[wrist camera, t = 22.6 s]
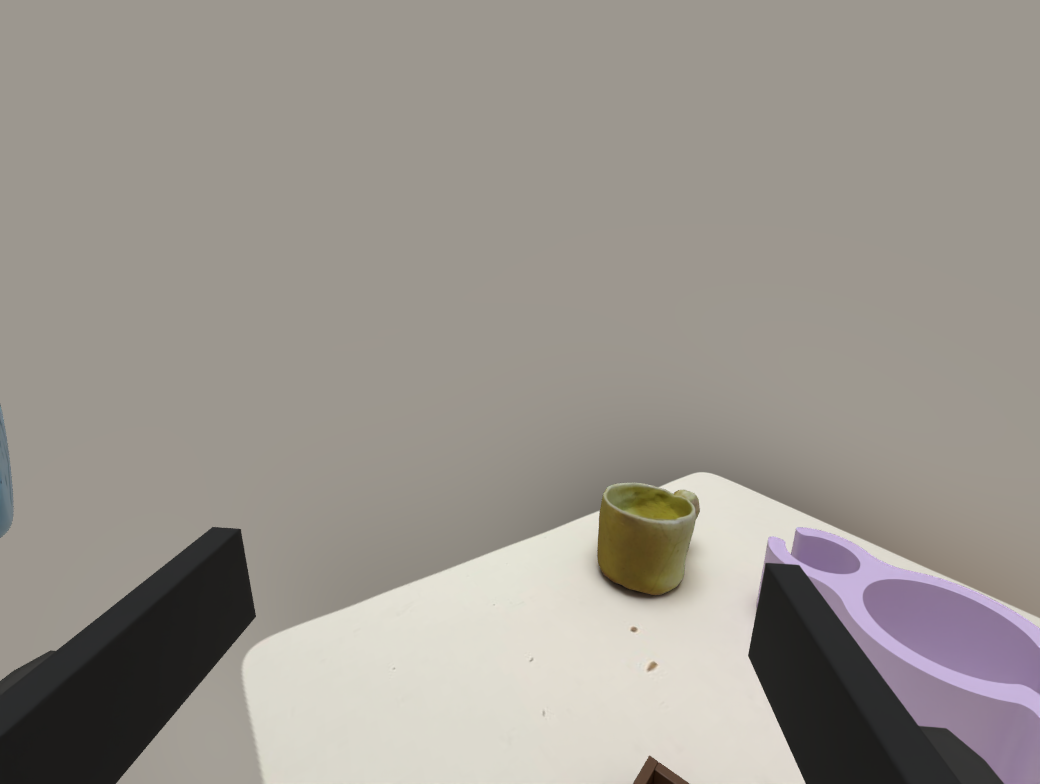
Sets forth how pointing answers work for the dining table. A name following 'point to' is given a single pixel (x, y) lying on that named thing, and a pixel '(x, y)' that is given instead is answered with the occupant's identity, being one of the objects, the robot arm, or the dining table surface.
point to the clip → (935, 648)
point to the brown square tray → (657, 774)
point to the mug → (645, 536)
